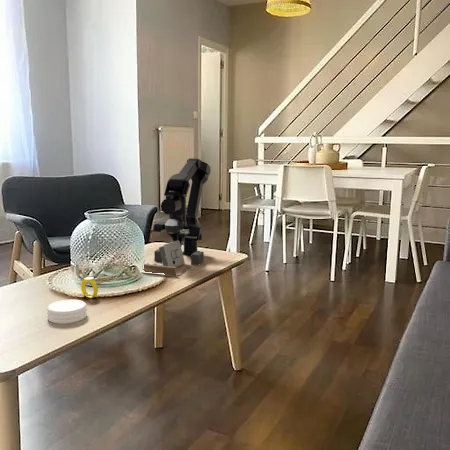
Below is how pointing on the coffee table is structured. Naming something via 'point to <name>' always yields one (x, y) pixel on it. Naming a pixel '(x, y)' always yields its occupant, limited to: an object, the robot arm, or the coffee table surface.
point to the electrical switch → (172, 254)
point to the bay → (162, 269)
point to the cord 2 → (197, 258)
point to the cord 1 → (157, 256)
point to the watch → (95, 288)
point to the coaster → (66, 311)
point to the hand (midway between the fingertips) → (178, 250)
